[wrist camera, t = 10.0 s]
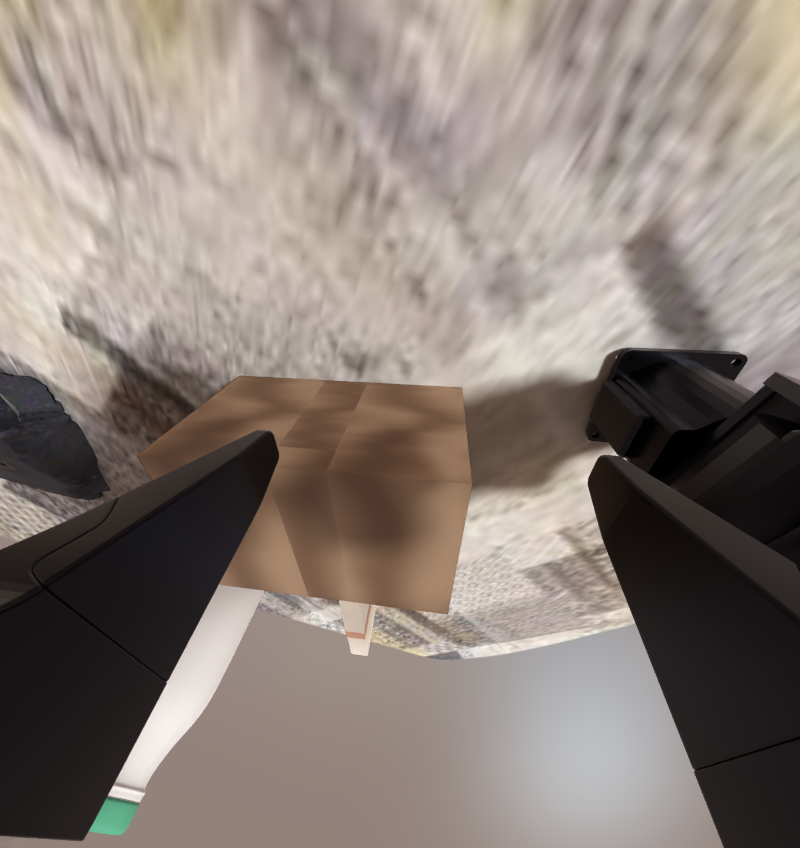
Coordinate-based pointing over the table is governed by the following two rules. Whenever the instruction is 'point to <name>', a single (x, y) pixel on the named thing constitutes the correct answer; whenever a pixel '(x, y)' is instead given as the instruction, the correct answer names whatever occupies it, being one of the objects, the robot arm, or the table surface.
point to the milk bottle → (180, 700)
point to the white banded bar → (358, 625)
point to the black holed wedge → (44, 443)
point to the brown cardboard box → (343, 486)
